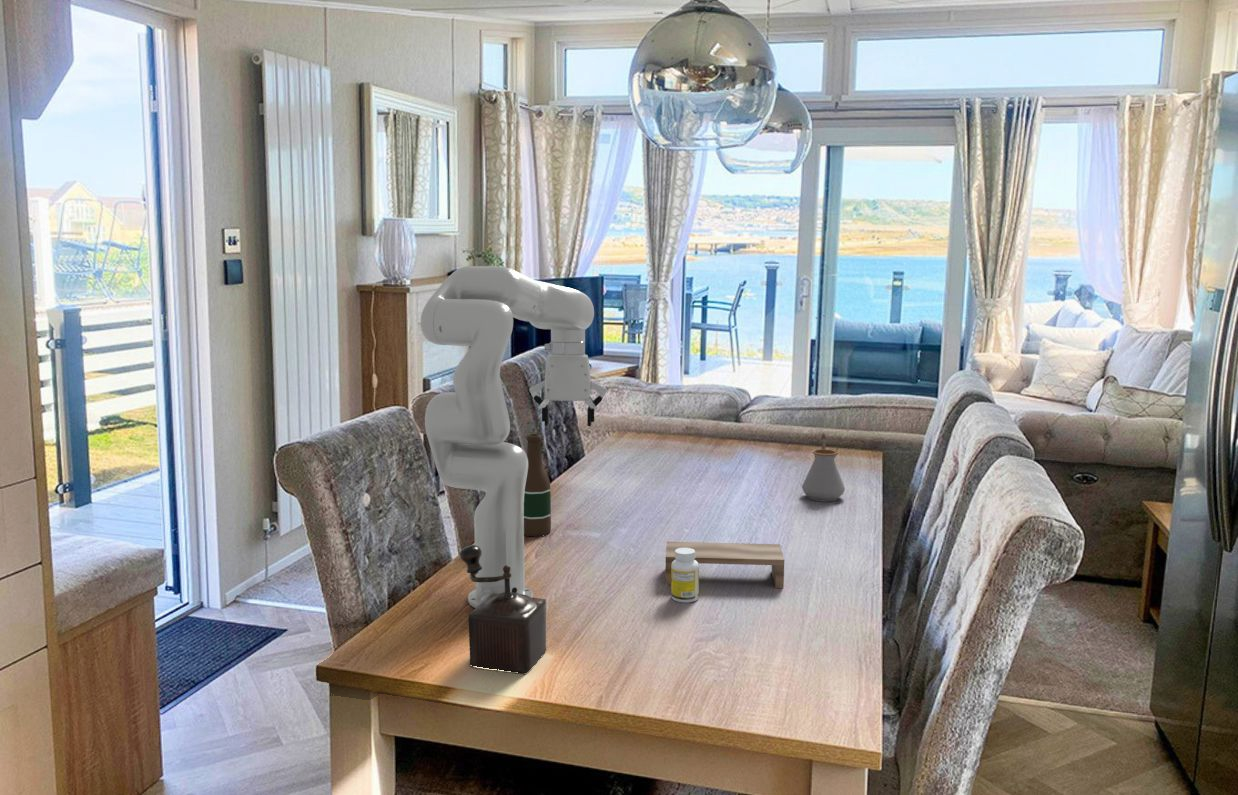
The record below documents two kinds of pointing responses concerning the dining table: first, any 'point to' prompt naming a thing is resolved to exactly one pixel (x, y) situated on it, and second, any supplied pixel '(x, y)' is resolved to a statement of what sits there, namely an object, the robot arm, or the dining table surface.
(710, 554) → the wooden shelf
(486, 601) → the manual coffee grinder
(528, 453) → the beer bottle
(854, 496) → the dining table surface
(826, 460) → the coffee pot
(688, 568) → the supplement bottle
